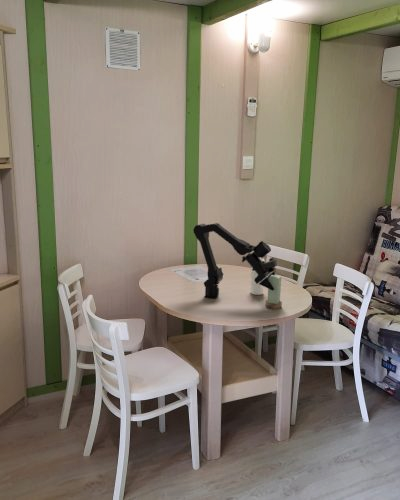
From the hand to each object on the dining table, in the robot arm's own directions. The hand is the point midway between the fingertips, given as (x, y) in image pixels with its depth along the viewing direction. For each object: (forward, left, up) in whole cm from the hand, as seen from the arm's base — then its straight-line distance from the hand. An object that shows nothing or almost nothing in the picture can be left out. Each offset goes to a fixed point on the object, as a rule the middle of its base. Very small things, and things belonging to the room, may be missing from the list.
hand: (276, 287), depth 235 cm
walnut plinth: (-1, 0, -10) cm, 10 cm away
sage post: (-1, 0, -7) cm, 7 cm away
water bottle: (-12, +20, -10) cm, 25 cm away
